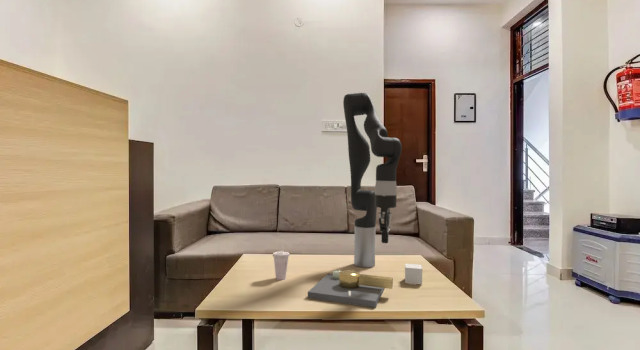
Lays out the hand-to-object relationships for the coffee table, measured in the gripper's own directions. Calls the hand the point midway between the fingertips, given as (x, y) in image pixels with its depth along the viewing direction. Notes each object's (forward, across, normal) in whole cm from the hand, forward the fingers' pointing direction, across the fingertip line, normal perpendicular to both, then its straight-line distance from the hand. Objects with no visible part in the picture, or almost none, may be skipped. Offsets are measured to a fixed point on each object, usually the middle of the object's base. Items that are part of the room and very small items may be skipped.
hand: (384, 242), depth 118 cm
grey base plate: (+16, +7, -11) cm, 21 cm away
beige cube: (+16, -12, +9) cm, 22 cm away
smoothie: (+16, +3, -39) cm, 42 cm away
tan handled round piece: (+14, +7, -5) cm, 17 cm away
